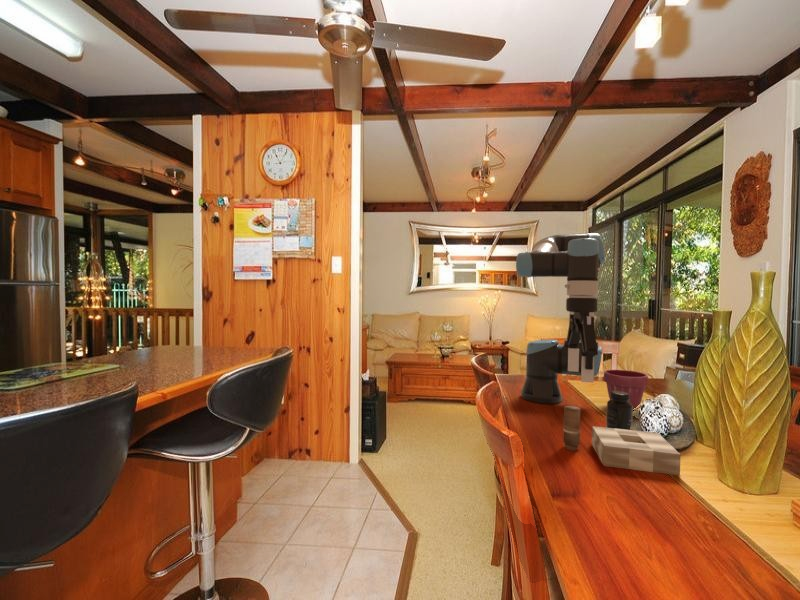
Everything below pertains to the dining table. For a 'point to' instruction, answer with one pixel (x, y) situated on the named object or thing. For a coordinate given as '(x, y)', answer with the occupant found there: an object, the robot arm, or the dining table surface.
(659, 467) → the seat board
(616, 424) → the supplement bottle
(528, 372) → the robot arm
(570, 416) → the peg
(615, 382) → the plant pot
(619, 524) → the dining table surface
